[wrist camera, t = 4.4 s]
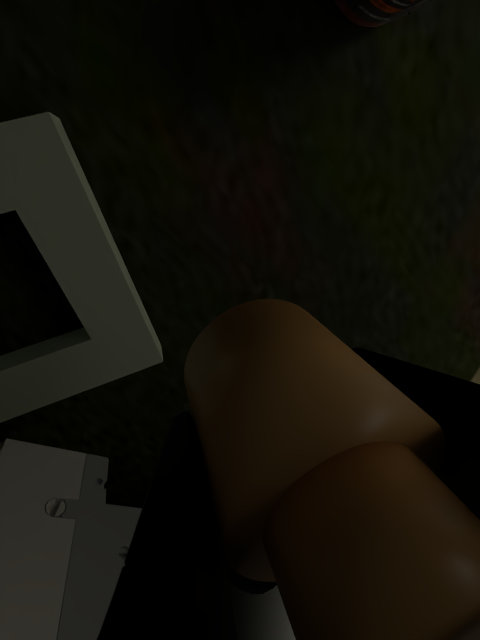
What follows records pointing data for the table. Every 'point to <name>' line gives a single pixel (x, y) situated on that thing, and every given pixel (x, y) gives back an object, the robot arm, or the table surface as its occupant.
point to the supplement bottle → (376, 10)
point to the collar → (68, 273)
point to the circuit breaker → (57, 543)
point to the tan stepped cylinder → (330, 482)
